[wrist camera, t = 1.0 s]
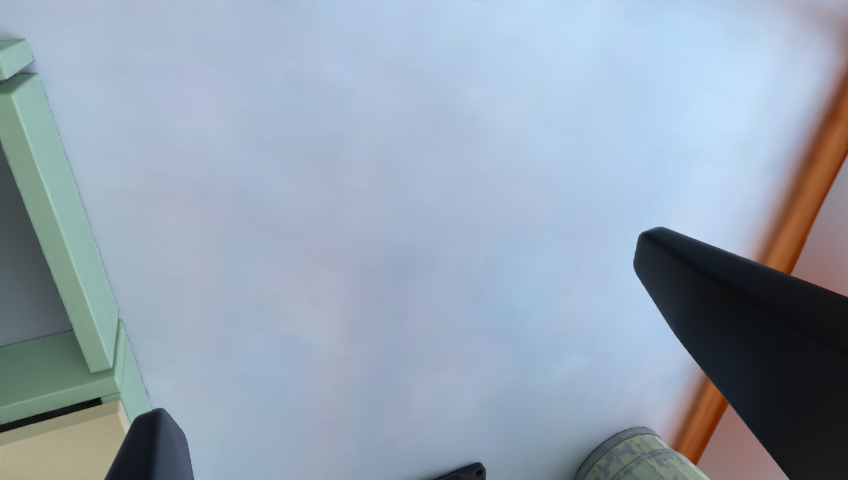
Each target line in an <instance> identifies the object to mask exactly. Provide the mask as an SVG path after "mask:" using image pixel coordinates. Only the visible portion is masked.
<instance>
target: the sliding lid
mask: <svg viewBox="0 0 848 480" xmlns="http://www.w3.org/2000/svg"><path fill="white" fill-rule="evenodd" d="M129 428H130V423H129V420H128V417H127V415H126V412H125V409H124V407H123V404H122V402H121V400H116V401H113V402H109V403H105V404H102V405H98V406H95V407H91V408H88V409H84V410H80V411H77V412H73V413H70V414H66V415H63V416H59V417H55V418H52V419H48V420H45V421H41V422H38V423H34V424H31V425H27V426H23V427H20V428H16V429H13V430H9V431H6V432H2V433H0V480H104V479H105V477H106V475H107V473H108V471H109V469H110V467H111V465H112V463H113V461H114V459H115V457H116V455H117V452H118V450H119V448H120V446H121V444H122V442H123V440H124V438H125V436H126V434H127V432H128V430H129Z"/></svg>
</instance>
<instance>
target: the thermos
mask: <svg viewBox="0 0 848 480" xmlns="http://www.w3.org/2000/svg"><path fill="white" fill-rule="evenodd" d="M574 480H710V479H709V478H708V477H707V476H706V475H705V474H704V473H703V472H701V471H700V470H699V469H698V468H697V467H696V466H695V465H694V464H693V463H692V462H690V461H689V460H688V459H687V458H686V457H685V456H684V455H683V454H681V453H678V452H676V451H673V450H672V449H671V448H670V447H669V446H668V445H667V444H666V443H665V442H664V441H663V440H662V439H661V438H660V436H659V435H657V434H656V433H655V432H654V431H652V430H650V429H647V428H632V429H629V430H626V431H624V432H621V433H618V434H617V435H615V436H613V437H612V438H610V439H609V440H607V441H606V442H604V443H603V444H602V445H601V446H600V447H598V448H597V449H596V450H595V451H594V452H593V453H592V454H591V455H590V456H589V457H588V458H587V460H586V461H585V463H584V464H583V465H582V467H581V468H580V469H579V471H578V473H577V475H576V477H575V479H574Z"/></svg>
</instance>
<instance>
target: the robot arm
mask: <svg viewBox="0 0 848 480" xmlns="http://www.w3.org/2000/svg"><path fill="white" fill-rule="evenodd" d="M633 265H634V270H635V272H636V274H637V276H638V278H639V279H640V281H641V282H642V284H643V285H644V287H645V289H646V290H647V292H648V293H649V295H650V296H651V298H652V300H653V301H654V303H655V304H656V306H657V308H658V309H659V311H660V312H661V314H662V315H663V317H664V319H665V320H666V322H667V323H668V325H669V326H670V328H671V329H672V331H673V332H674V334H675V335H676V337H677V338H678V339H679V341H680V342H681V343H682V345H683V346H684V347H685V348H686V350H687V351H688V352H689V354H690V355H691V356H692V357H693V359H694V360H695V361H696V362H697V364H698V365H699V366H700V367H701V369H702V370H703V371H704V372H705V374H706V375H707V376H708V377H709V379H710V380H711V381H712V382H713V384H714V385H715V386H716V388H717V389H718V390H719V391H720V393H721V394H722V395H723V396H724V398H725V399H726V400H727V401H728V403H729V404H730V405H731V406H732V408H733V409H734V410H735V411H736V413H737V414H738V415H739V416H740V418H741V419H742V420H743V421H744V423H745V424H746V425H747V427H748V428H749V429H750V430H751V431H752V433H753V434H754V435H755V437H756V438H757V439H758V440H759V442H760V443H761V444H762V445H763V447H764V448H765V449H766V450H767V452H768V453H769V454H770V455H771V457H772V458H773V459H774V460H775V462H776V463H777V464H778V466H779V467H780V468H781V469H782V471H783V472H784V473H785V474H786V476H787V477H788V478H789V479H790V480H848V297H846V296H843V295H841V294H838V293H836V292H833V291H830V290H828V289H825V288H822V287H820V286H817V285H815V284H812V283H809V282H807V281H804V280H801V279H799V278H796V277H793V276H791V275H788V274H786V273H783V272H780V271H778V270H775V269H772V268H770V267H767V266H765V265H762V264H759V263H757V262H754V261H751V260H749V259H746V258H743V257H741V256H738V255H736V254H733V253H730V252H728V251H725V250H722V249H720V248H717V247H714V246H712V245H709V244H707V243H704V242H701V241H699V240H696V239H693V238H691V237H688V236H685V235H683V234H680V233H678V232H675V231H672V230H670V229H667V228H664V227H655V228H653V229H650V230H647V231H644V232H642V233H641V234H640V235H639V237H638V241H637V246H636V251H635V256H634V261H633ZM104 480H194V476H193V471H192V465H191V459H190V454H189V448H188V443H187V439H186V437H185V434H184V432H183V431H182V430H181V428H180V427H179V426H178V425H177V423H176V422H175V421H174V420H173V418H172V417H171V416H170V415H169V413H168V412H167V411H166V410H165V409H163V408H157V409H154V410H151V411H149V412H146V413H143V414H140V415H139V416H137V417H136V418H135V419H134V420H133V422H132V424H131V426H130V428H129V430H128V432H127V434H126V436H125V438H124V440H123V442H122V444H121V446H120V448H119V450H118V452H117V455H116V457H115V459H114V461H113V463H112V465H111V467H110V469H109V471H108V473H107V475H106V477H105V479H104ZM434 480H486V470H485V467H484V466H483V464H482V463H480V462H478V463H474V464H472V465H469V466H467V467H464V468H462V469H459V470H457V471H454V472H452V473H449V474H447V475H444V476H441V477H439V478H436V479H434Z"/></svg>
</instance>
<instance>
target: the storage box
mask: <svg viewBox="0 0 848 480" xmlns="http://www.w3.org/2000/svg"><path fill="white" fill-rule="evenodd" d="M33 61H34V58H33V55H32V52H31V49H30V46H29V43H28V41H27V39H17V40H4V41H0V80H6V79H8V78H9V77H11V76H12V75H14V74H15V73H17V72H18V71H20V70H21V69H23V68H24V67H26V66H27V65H29V64H30V63H32V62H33ZM0 143H1V146H2V148H3V151H4V153H5V156H6V158H7V161H8V164H9V166H10V169H11V171H12V174H13V176H14V179H15V182H16V184H17V187H18V189H19V192H20V194H21V197H22V200H23V202H24V205H25V207H26V210H27V212H28V215H29V217H30V220H31V223H32V225H33V228H34V230H35V233H36V235H37V238H38V241H39V243H40V246H41V248H42V251H43V253H44V256H45V259H46V261H47V264H48V266H49V269H50V271H51V274H52V277H53V279H54V282H55V284H56V287H57V289H58V292H59V295H60V297H61V300H62V302H63V305H64V307H65V310H66V312H67V315H68V318H69V320H70V323H71V325H72V328H73V330H72V331H68V332H64V333H59V334H55V335H51V336H47V337H42V338H38V339H34V340H30V341H25V342H21V343H17V344H13V345H9V346H4V347H0V425H2V424H6V423H9V422H13V421H16V420H20V419H24V418H27V417H31V416H34V415H38V414H42V413H45V412H49V411H53V410H56V409H60V408H63V407H67V406H71V405H74V404H78V403H82V402H85V401H89V400H92V399H96V398H100V400H101V402H102V404H105V403H109V402H113V401H116V400H121V402H122V404H123V407H124V409H125V412H126V415H127V417H128V420H129V423H130V426H131V424H132V422H133V420H134V419H135V418H136V417H137V416H139V415H140V414H143V413H146V412H149V411H151V410H152V407H151V404H150V401H149V398H148V395H147V392H146V389H145V386H144V383H143V380H142V377H141V374H140V371H139V368H138V365H137V362H136V360H135V357H134V354H133V351H132V348H131V345H130V342H129V339H128V336H127V334H126V330H125V327H124V324H123V321H122V320H121V319H119V320H118V312H119V309H118V306H117V303H116V300H115V297H114V294H113V292H112V289H111V286H110V283H109V280H108V277H107V274H106V271H105V268H104V265H103V262H102V259H101V256H100V253H99V250H98V247H97V244H96V241H95V238H94V235H93V232H92V230H91V227H90V224H89V221H88V218H87V215H86V212H85V209H84V206H83V203H82V200H81V197H80V194H79V191H78V188H77V185H76V182H75V179H74V176H73V173H72V170H71V168H70V165H69V162H68V159H67V156H66V153H65V150H64V147H63V144H62V141H61V138H60V135H59V132H58V129H57V126H56V123H55V120H54V117H53V114H52V111H51V108H50V106H49V103H48V100H47V97H46V94H45V91H44V88H43V85H42V82H41V79H40V76H39V74H37V73H31V74H20V75H15V76H13V77H12V78H11V79H9V80H8V81H6V82H5V83H3V84H2V85H0Z"/></svg>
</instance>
